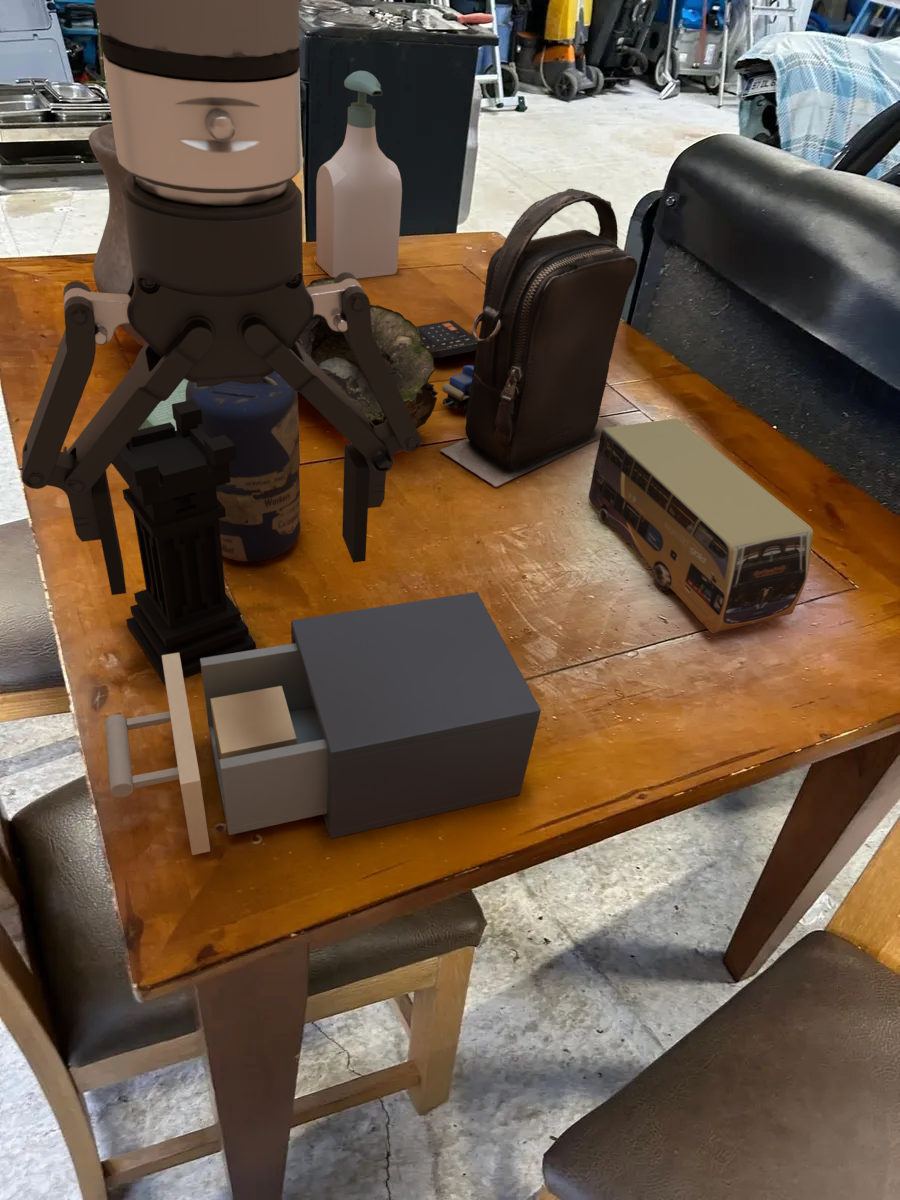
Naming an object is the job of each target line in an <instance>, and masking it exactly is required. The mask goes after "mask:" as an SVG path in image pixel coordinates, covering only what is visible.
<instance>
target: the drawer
mask: <svg viewBox="0 0 900 1200" xmlns="http://www.w3.org/2000/svg"><path fill="white" fill-rule="evenodd" d="M162 662H163V669H164V676H165V683H166V685H165V689H166V697H167V702H168V703H167V704H168V708H169V709H168V710H169V711H162V712H158V713H152V714H146V715H145V714H144V715H140V716H134V717H129V718H127V717H126V716H124V715H123V714H117V713H116V714H112V715H111V714H110V715H109V716H108V717H106V719H105V720H104V726H105V727H104V728H105V742H106V757H107V768H108V769H107V771H108V781H109V793H110V795H111V796H113V797H115V798H126V797H128V796H129V795H131V794H132V793H133V791H134V789H138V788H144V787H147V786H153V785H159V784H163V783H167V782H172V781H178V780H179V785H180V792H181V797H182V798H181V799H182V804H183V809H184V816H185V821H186V828H187V834H188V839H189V845H190V852H191V855H192V856H196V855H200V854H205V853H209V852H211V845H210V839H209V838H210V837H209V830H208V824H207V817H206V808H205V803H204V802H205V801H204V796H203V790H202V781H201V776H200V775H201V774H200V769H199V764H198V757H197V751H196V746H195V740H194V733H193V727H192V721H191V715H190V708H189V703H188V695H187V690H186V684H185V680H184V679H185V678H183V672H182V666H181V660H180V654H179V653H173V654H167V655H162ZM200 663H201V679H202V686H203V687H202V688H203V693H204V703H205V711H206V718H207V726H208V732H209V739H210V742H211V748H212V754H213V759H214V764H215V771H216V776H217V783H218V787H219V792H220V798H221V803H222V808H223V809H222V810H223V814H224V820H225V825H226V826H225V827H226V831H227V835H228V836H232V835H236V834H241V833H245V832H250V831H254V830H258V829H264V828H268V827H272V826H276V825H277V826H278V825H281V824H286V823H290V822H295V821H299V820H303V819H307V818H312V817H318V816H321V815H322V816H323V814H326V813H327V803H328V749H327V745H326V742H325V739H324V735H323V732H322V729H321V725H320V722H319V719H318V715H317V712H316V709H315V705H314V702H313V699H312V695H311V692H310V689H309V685H308V682H307V679H306V675H305V672H304V669H303V665H302V662H301V659H300V655H299V652H298V649H297V645H296V643H293V644H292V643H288V644H282V645H281V644H280V645H274V646H269V647H262V648H256V650H249V651H243V652H237V653H231V654H225V655H218V656H212V657H206V658H201V659H200ZM278 686H282V688H283V691H284V695H285V699H286V702H287V706H288V709H289V713H290V716H291V720H292V724H293V727H294V731H295V734H296V738H297V744H296V745H291V746H286V747H281V748H276V749H271V750H266V751H261V752H255V753H250V754H245V755H240V756H235V757H230V758H225V759H220V760H219V759H218V754H217V749H216V743H215V735H214V726H213V718H212V709H211V701H210V699H211V698H217V697H222V696H228V695H233V694H239V693H244V692H250V691H255V690H261V689H267V688H272V687H278ZM170 723H171V731H172V737H173V744H174V750H175V751H174V752H175V757H176V758H175V759H176V767H171V768H166V769H160V770H155V771H152V772H151V771H149V772H146V773H140V774H135V775H133V771H132V761H131V751H130V740H129V731H132V730H137V729H143V728H149V727H153V726H159V725H164V724H170Z"/></svg>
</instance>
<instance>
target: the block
mask: <svg viewBox="0 0 900 1200" xmlns="http://www.w3.org/2000/svg"><path fill="white" fill-rule="evenodd" d="M210 701H211V709H212V718H213V726H214V735H215V743H216V749H217V754H218V759H219V760H220V759H225V758H230V757H235V756H240V755H245V754H250V753H255V752H261V751H266V750H271V749H276V748H281V747H286V746H291V745H296V744H297V738H296V734H295V731H294V727H293V724H292V720H291V716H290V713H289V709H288V706H287V702H286V699H285V695H284V691H283V688H282V686H278V687H272V688H267V689H261V690H255V691H250V692H244V693H239V694H233V695H228V696H222V697H217V698H211V699H210Z"/></svg>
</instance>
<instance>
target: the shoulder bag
mask: <svg viewBox="0 0 900 1200" xmlns="http://www.w3.org/2000/svg"><path fill="white" fill-rule="evenodd" d="M580 202H585V203H588V204H590V205H591V206H592V207H593V208H594V210H595V212H596V215H597V219H598V225H599V232H598V235H597V234H595V233H593V232H591V231H589V230H587V229H582V228H581V229H573V230H567V231H565V232H562V233H559V234H553V235H547V236H544V237H543V236H542V237H539V238H535V239H533V238H534V236H535V235H537V233H538V232H539V230H540V229H541V228H542V227H543V226H544V225H545V224H546V223H547V222H548V221H550V220H551V219H552V217H553V216H554V215H556V214H558V213H559V212H560V211H562V210H563V209H565V208H567V207H569V206H572V205H573V204H577V203H580ZM515 221H516V222H515V223H514V224H513V226H512V228H511V230H510V232H509V233H508V234H507V236H506V238H505V240H504V243H503V245H502V246H501V247H500V248H498V249H497V250H495V251H494V253H493V254H492V255H491V257H490V260H489V262H488V266H487V270H486V279H485V287H484V294H483V303H482V311H481V312H479V313H478V314H477V316H476V318H475V319H474V320H473V324H472V328H471V329H472V330H471V333H470V334H471V335H472V336H473V338H474V339H475V341H477V342H478V344H477V350H476V352H475V356H474V363H473V366H474V370H473V378H472V386H471V390H470V396H469V403H468V407H467V411H466V414H465V427H464V429H465V435H466V438H464V439H462V440H460V441H457V442H455V443H454V444H450V445H447V446H446V447H443V448H441V449H439V452H442V453H444V454H445V456H448V457H449V458H450V459H452V460H453V461H455V462H457V463H459V465H461V466H463V467H464V468H466V469H467V470H469V471H470V472H472V473H474V474H475V475H477V476H479V477H480V478H481V479H483V480H485V481H486V482H488V483H489V484H491V485H492V486H493V487H496V488H497V487H500V486H501V485H503V484H505V483H508V482H509V481H511V480H513V479H515V478H516V479H517V478H518V477H520V476H522V475H524V474H527V473H528V472H530V471H533V470H536V469H537V468H539V467H541V466H544V465H546V464H548V463H550V462H552V461H554V460H557V459H559V458H561V457H563V456H565V455H567V454H570V453H571V452H574V451H576V450H578V449H580V448H582V447H584V446H587V445H589V444H591V443H593V442H595V441H598V440H600V437H601V432H602V429H603V428H608V427H615V426H616V425H615V424H614V423H612V422H610V421H608V420H606V419H605V418H603V417H601V416H600V411H601V406H602V403H603V402H602V401H603V399H604V398H603V397H604V393H605V390H606V386H607V380H608V376H609V375H608V374H609V369H610V363H611V359H612V355H613V351H614V347H615V342H616V338H617V334H618V330H619V327H620V323H621V319H622V315H623V311H624V309H625V308H624V307H625V303H626V300H627V297H628V293H629V290H630V288H631V285H632V282H633V280H634V278H635V275H636V274H637V270H638V261H637V260H636V259H635V257H634V256H633V255H632V254H631V253H630V252H627V251H626V250H623V249H622V248H620V247H619V245H618V241H619V239H618V238H619V237H618V236H619V235H618V233H619V232H618V230H619V229H618V221H617V217H616V213H615V210H614V208H613V207H612V202H611V201H610V200H606V199H605V198H602V197H601V196H599V195H597V194H594V193H592V192H589V191H585V190H580V189H574V188H567V189H566V190H563V191H559V192H556V193H553V194H551V195H548V196H546V197H544V198H543V199H540V200H537V201H535V202H534V203H532V204H531V205H530V206H529V207H528V208H527V209H526V210H525V211H523V213H522V214H521V215H520V216H519V218H518V219H517V220H515ZM479 323H480V328H479V334H478V335H477V329H478V325H479Z"/></svg>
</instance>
